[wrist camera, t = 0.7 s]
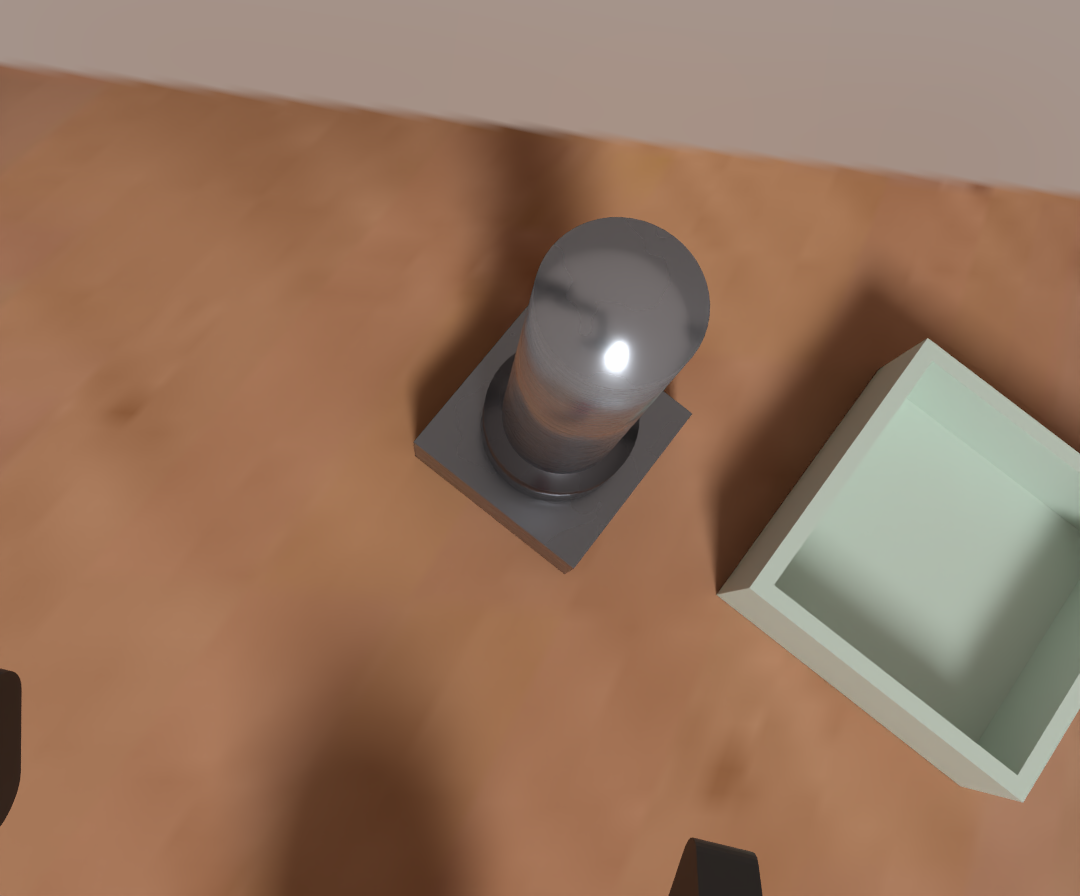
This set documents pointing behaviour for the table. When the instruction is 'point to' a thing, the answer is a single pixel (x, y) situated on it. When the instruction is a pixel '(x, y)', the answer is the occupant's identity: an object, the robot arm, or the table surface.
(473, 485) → the stud block
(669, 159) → the table surface
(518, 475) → the silver domed cylinder
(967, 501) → the bin
